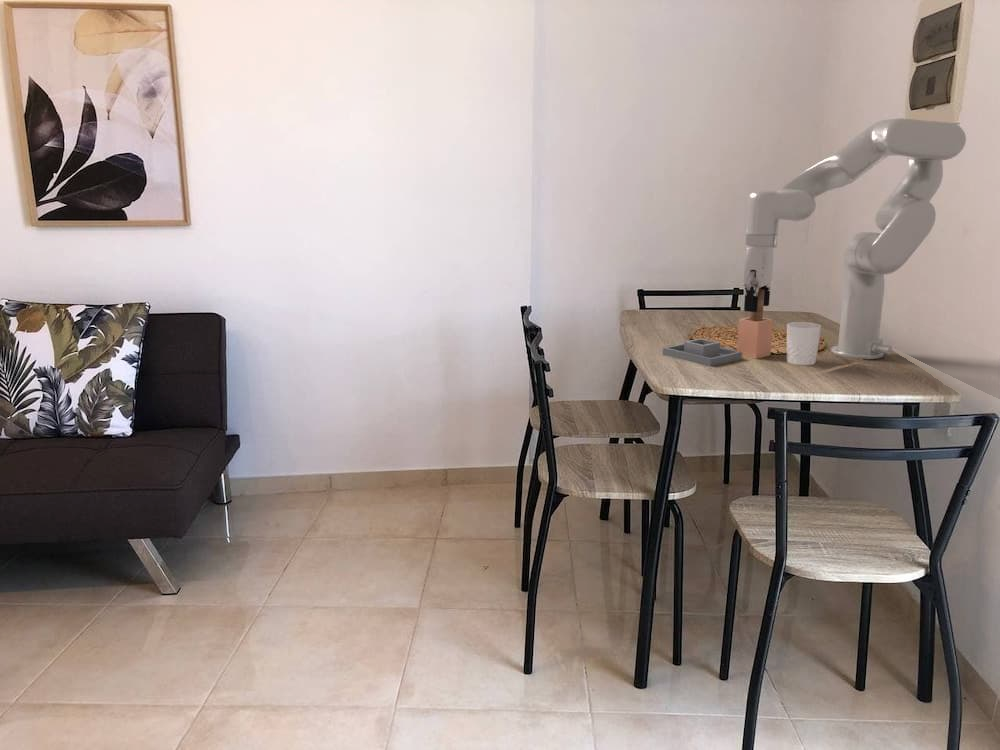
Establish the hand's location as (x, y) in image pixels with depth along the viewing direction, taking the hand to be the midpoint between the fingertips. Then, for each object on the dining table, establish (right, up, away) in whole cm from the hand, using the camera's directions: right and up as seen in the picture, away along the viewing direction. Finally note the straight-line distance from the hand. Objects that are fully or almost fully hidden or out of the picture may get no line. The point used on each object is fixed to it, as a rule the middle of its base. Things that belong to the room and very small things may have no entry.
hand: (756, 308), depth 202 cm
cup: (0, -12, +3) cm, 13 cm away
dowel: (0, -12, +3) cm, 12 cm away
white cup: (+10, -15, -5) cm, 18 cm away
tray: (-14, -13, +2) cm, 19 cm away
